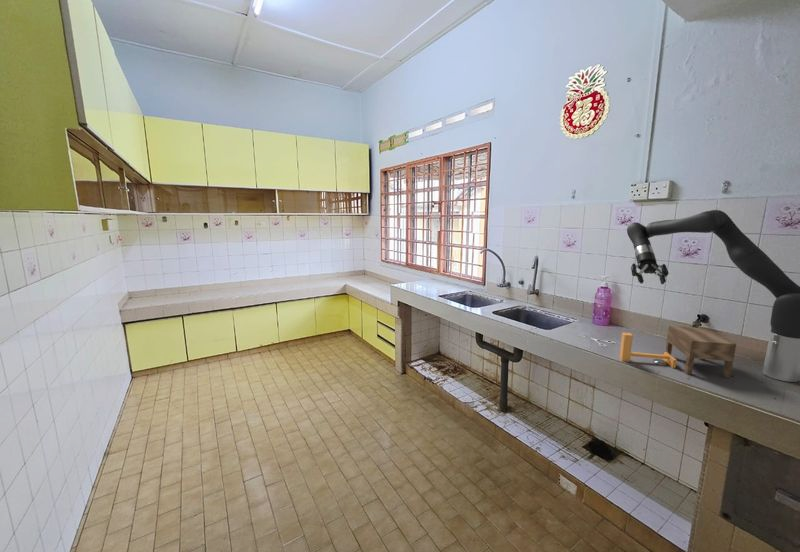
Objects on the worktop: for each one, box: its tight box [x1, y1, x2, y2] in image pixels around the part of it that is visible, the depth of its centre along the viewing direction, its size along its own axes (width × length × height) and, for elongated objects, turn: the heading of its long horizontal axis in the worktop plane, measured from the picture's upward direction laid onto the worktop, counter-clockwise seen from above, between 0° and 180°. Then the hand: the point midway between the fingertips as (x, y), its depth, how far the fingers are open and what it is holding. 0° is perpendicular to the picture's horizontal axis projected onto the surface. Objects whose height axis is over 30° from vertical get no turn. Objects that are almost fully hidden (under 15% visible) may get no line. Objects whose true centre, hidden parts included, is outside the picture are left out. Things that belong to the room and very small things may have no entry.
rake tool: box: [618, 332, 678, 369], centre depth 141 cm, size 19×8×12 cm, turn 74°
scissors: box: [573, 332, 621, 348], centre depth 168 cm, size 11×1×20 cm
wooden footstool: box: [664, 325, 737, 379], centre depth 136 cm, size 14×18×14 cm
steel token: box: [652, 358, 669, 366], centre depth 141 cm, size 5×5×1 cm
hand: (652, 283), depth 155 cm, fingers open, 8 cm apart
